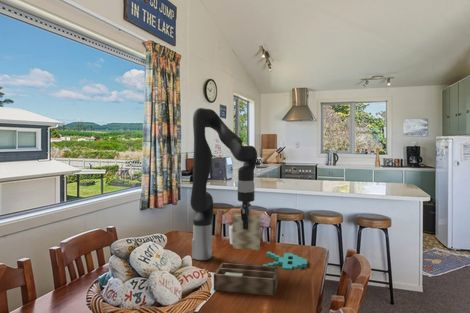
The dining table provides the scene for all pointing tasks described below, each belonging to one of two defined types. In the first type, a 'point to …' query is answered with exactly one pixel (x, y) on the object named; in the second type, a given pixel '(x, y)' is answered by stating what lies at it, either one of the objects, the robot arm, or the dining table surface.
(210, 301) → the dining table surface
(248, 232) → the birch panel
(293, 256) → the alien figure
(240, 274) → the sage offcut
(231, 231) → the white cup
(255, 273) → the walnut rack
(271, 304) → the dining table surface
